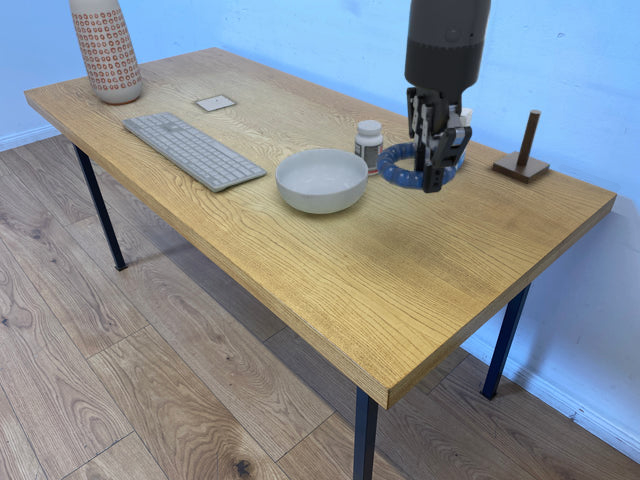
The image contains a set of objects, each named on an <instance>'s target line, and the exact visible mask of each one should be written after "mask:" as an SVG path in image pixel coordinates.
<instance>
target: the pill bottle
mask: <svg viewBox="0 0 640 480" xmlns="http://www.w3.org/2000/svg"><path fill="white" fill-rule="evenodd" d="M382 127H383V126H382V123H381V122H380V121H377V120H374V119H365V120H361V121H359V122H358V123H357V129H356V130H357V133H356V135H355V137H354V154H355V155H357V156H359V157H360V158H362V159H363V160H364V161H365V162H366V164H367V166H368V176H375V175H377V174H379V173H378V170H377V167H376V160H377V158H378V156H379V155H380V153H381V152H382V151H383V150H384V136H383V134H382Z"/></svg>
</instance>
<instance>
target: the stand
mask: <svg viewBox="0 0 640 480" xmlns="http://www.w3.org/2000/svg"><path fill="white" fill-rule="evenodd" d="M541 115H542V111H541V110H538V109H531V110H529V114H528V117H527V122H526V125H525V130H524V133H523V137H522V141H521V144H520V148H519V151H517V150H513V151H512V152H510V153H508V154H507V155H505V156H503V157H501V158H499V159H497V160H496V161H494V162H493V164H492V167H491V169H492V170H493V171H495V172H498V173H500V174H502V175H505V176H507V177H510V178H512V179H514V180H517V181H519V182H521V183H524V184H526V185H528V184H530V183H531V182H533V181H534V180H536V179H538V178H540V176H542V175H544V174H545V173H547V172H548V171H549V170H550V168H551V163H548V162H546V161H543V160H540V159H538V158H536V157H533V156H530V155H531V152H532V148H533V146H534V145H533V144H534V141H535V137H536V133H537V130H538V126H539V123H540V119H541Z"/></svg>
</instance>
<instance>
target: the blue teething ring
mask: <svg viewBox="0 0 640 480" xmlns="http://www.w3.org/2000/svg"><path fill="white" fill-rule="evenodd" d="M413 142H414V141H407V142H400V143H395V144H392V145H391V146H389V147H388V146H387V148H383V151H382V152H381V153H380V155H379V156H378V158H377V160H376V167H377V170H378V173H377V174H378V175H379V176H380V177H381V178H382V179H383V180H385V182H387V183H388V184H390V185H392V186H395V187H397V188H398V187H399V188H401V189H405V190H412V191H413V190H414V191H416V190H417V191H423V190H422V181H423V173H424V171H423V172H422V171H414V170H410V169H405V168H403V167H400V166H398V165H397V164H396V163H398V162H400V161H406V160H407V161H408V160H415V153H416V151H417V150H415V149H414V147H413ZM436 148H437V146H436ZM436 148H434V150H435V151H436ZM457 169H458V164H457V165H456V166H453V167H445V170H444V176H443V183H442V187H443V186H445V185H447V184H448V183H450V182H452V181H453V180H454V178H455V177H456V174H457V171H458V170H459V169H458V170H457Z"/></svg>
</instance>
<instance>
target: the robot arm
mask: <svg viewBox="0 0 640 480" xmlns="http://www.w3.org/2000/svg"><path fill="white" fill-rule="evenodd" d="M491 8H492V0H410V6H409V11H408V13H409V14H408V26H407V36H406V47H405V48H406V49H405V59H404V60H405V61H404V71H403V72H404V75H403V77H404V79H405V81H406V82H407V83H408V84H410V85H411V86H410V87H409V86H408V87H407V88H406V91H405V93H406V105H407V107H406V108H407V109H406V110H407V123H408V137H409V139H410V140H411V139H412V140H413V141H412V142H413V147H414V149H415V150H417V151H416V153H415V159H414V163H413V171H422V172H423V171H424V173H423V181H422V190H421V191H423V193H425V194H433V193H434V194H435V193H439V192H441V191H442V189H443V186H442V183H443V176H444V170H445V167H453V166H456V165H457V163H458V161H459V159H460V157H461V155H462V154H463V152H464V150H465V148H466V149H467V146H468V144H469V143H470V140H471V139H472V136H473V128H472V126H471V125H470V126H464V127H463V126H462V124H461V121H460V116H461V113H462V107H463V93H464V92H465V91H466V90H468V88H472V87H473V86H474V85H475V84H477V82H478V80H479V76H480V71H481V65H482V59H483V54H484V48H485V43H486V38H487V31H488V27H489V21H490V16H491ZM438 135H441V136H438ZM436 146H437V148H436ZM434 148H436V151H435V150H434Z"/></svg>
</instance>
